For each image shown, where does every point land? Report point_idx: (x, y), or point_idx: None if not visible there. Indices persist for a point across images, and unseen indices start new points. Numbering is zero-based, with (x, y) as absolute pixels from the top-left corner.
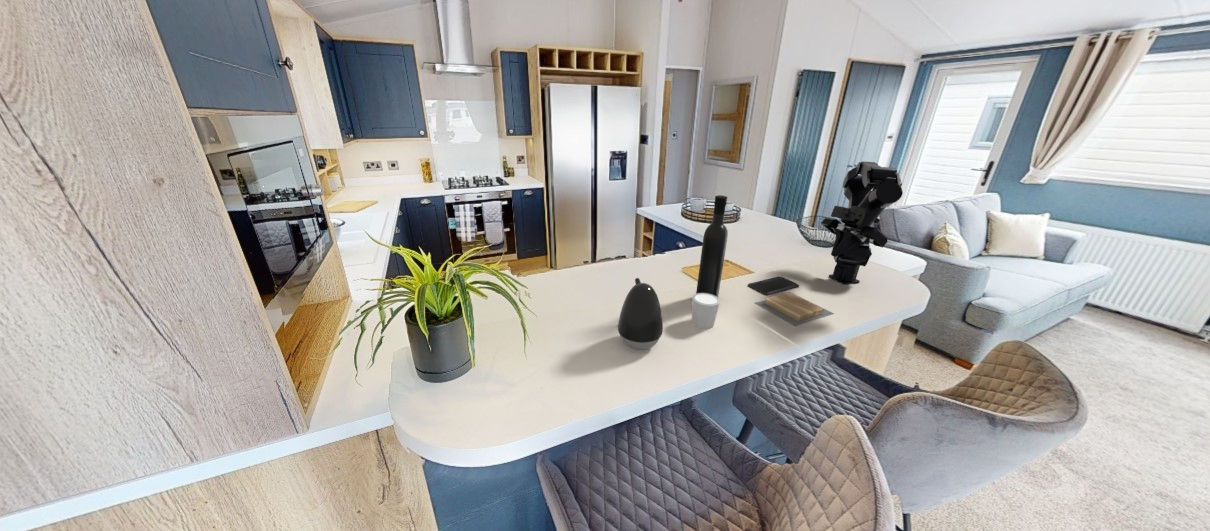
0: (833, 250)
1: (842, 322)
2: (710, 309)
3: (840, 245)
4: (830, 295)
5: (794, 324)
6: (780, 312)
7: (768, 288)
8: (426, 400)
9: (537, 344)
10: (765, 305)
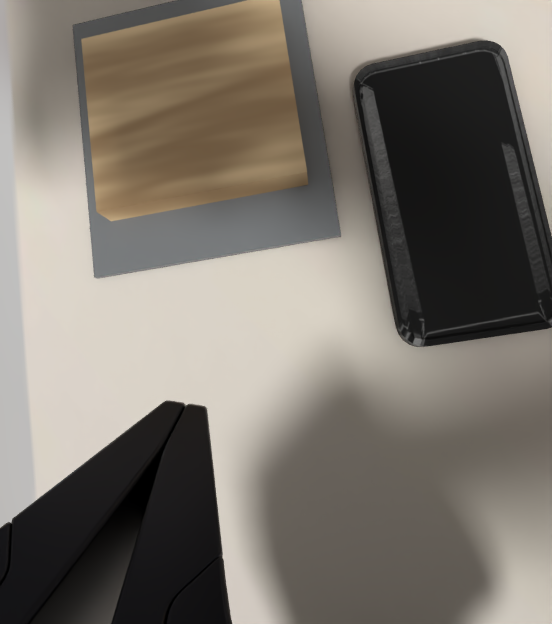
0: (181, 443)
1: (35, 258)
2: None
3: (34, 520)
4: (265, 447)
5: (83, 31)
6: None
7: (419, 129)
8: None
9: None
10: None
